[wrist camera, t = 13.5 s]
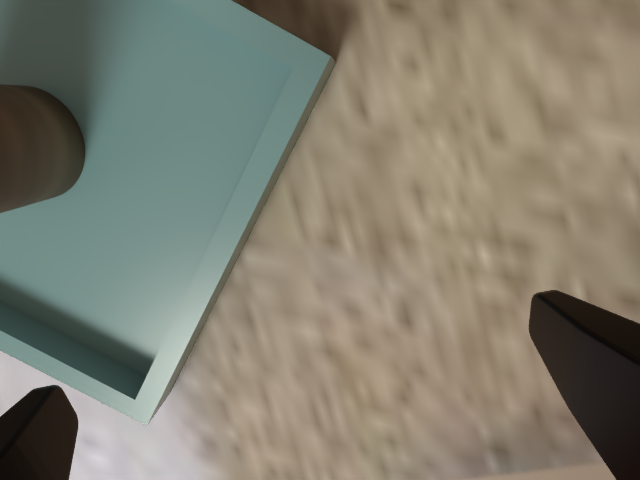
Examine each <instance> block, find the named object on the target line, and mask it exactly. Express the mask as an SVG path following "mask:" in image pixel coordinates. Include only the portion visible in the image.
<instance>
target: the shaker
mask: <svg viewBox="0 0 640 480" xmlns="http://www.w3.org/2000/svg"><path fill="white" fill-rule="evenodd" d="M84 162H85V144H84V139H83V135H82V132H81V129H80V127H79V125H78V123H77V121H76V119H75V117H74V116H73V114H72V113H71V112H70V110H69V109H68V108H67V107H66V106H65V105H64V104H63V103H62V102H61V101H60V100H59V99H57V98H56V97H55V96H53V95H52V94H50V93H48V92H46V91H44V90H42V89H39V88H36V87H31V86H21V85H3V84H0V213H3V212H6V211H10V210H13V209H17V208H20V207H23V206H27V205H30V204H34V203H37V202H40V201H44V200H47V199H51V198H54V197H57V196H60V195H62V194H64V193H65V192H67V191H68V190H69V189H71V188H72V187H73V186H74V184H75V183H76V182H77V180H78V179H79V177H80V175H81V173H82V170H83V167H84Z"/></svg>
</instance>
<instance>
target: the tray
mask: <svg viewBox="0 0 640 480" xmlns="http://www.w3.org/2000/svg"><path fill="white" fill-rule="evenodd" d="M335 64H336V62H335V60H334V59H333V58H332V57H331V56H330V55H328V54H326V53H324V52H323V51H321V50H319V49H317V48H315V47H314V46H312V45H310V44H308V43H307V42H305V41H303V40H301V39H299V38H298V37H296V36H294V35H292V34H291V33H289V32H287V31H285V30H283V29H282V28H280V27H278V26H276V25H274V24H273V23H271V22H269V21H267V20H266V19H264V18H262V17H260V16H258V15H257V14H255V13H253V12H251V11H250V10H248V9H246V8H244V7H242V6H241V5H239V4H237V3H235V2H234V1H232V0H0V84H3V85H21V86H31V87H36V88H39V89H42V90H44V91H46V92H48V93H50V94H52V95H53V96H55V97H56V98H57V99H59V100H60V101H61V102H62V103H63V104H64V105H65V106H66V107H67V108H68V109H69V110H70V112H71V113H72V114H73V116H74V117H75V119H76V121H77V123H78V125H79V127H80V129H81V132H82V135H83V139H84V144H85V162H84V167H83V170H82V173H81V175H80V177H79V179H78V180H77V182H76V183H75V184H74V186H73V187H72V188H71V189H69V190H68V191H67V192H65V193H64V194H62V195H60V196H57V197H54V198H51V199H47V200H44V201H40V202H37V203H34V204H30V205H27V206H23V207H20V208H17V209H13V210H10V211H6V212H3V213H0V351H2V352H4V353H6V354H8V355H10V356H12V357H14V358H16V359H18V360H20V361H22V362H24V363H26V364H28V365H30V366H32V367H33V368H35V369H37V370H39V371H41V372H43V373H45V374H47V375H49V376H51V377H53V378H55V379H57V380H59V381H61V382H63V383H65V384H67V385H69V386H70V387H72V388H74V389H76V390H78V391H80V392H82V393H84V394H86V395H88V396H90V397H92V398H94V399H96V400H98V401H100V402H102V403H104V404H105V405H107V406H109V407H111V408H113V409H115V410H117V411H119V412H121V413H123V414H125V415H127V416H129V417H131V418H133V419H135V420H137V421H139V422H140V423H142V424H144V425H146V426H147V425H148V424H149V422H150V421H151V419H152V418H153V416H154V415H155V414H156V412H157V411H158V409H159V408H160V406H161V405H162V404H163V402H164V401H165V399H166V398H167V396H168V395H169V394H170V392H171V390H172V388H173V386H174V384H175V382H176V380H177V378H178V376H179V374H180V372H181V370H182V368H183V366H184V364H185V362H186V360H187V358H188V356H189V354H190V352H191V350H192V348H193V346H194V344H195V342H196V340H197V338H198V336H199V334H200V332H201V330H202V328H203V326H204V324H205V322H206V320H207V318H208V316H209V314H210V312H211V310H212V308H213V306H214V304H215V302H216V300H217V298H218V296H219V294H220V292H221V290H222V288H223V286H224V284H225V282H226V280H227V278H228V276H229V274H230V272H231V270H232V268H233V266H234V264H235V262H236V260H237V258H238V256H239V254H240V252H241V250H242V248H243V246H244V244H245V242H246V240H247V238H248V236H249V234H250V233H251V231H252V229H253V227H254V225H255V223H256V221H257V219H258V217H259V215H260V213H261V211H262V209H263V207H264V205H265V203H266V201H267V199H268V197H269V195H270V193H271V191H272V189H273V187H274V185H275V183H276V181H277V179H278V177H279V175H280V173H281V171H282V169H283V167H284V165H285V163H286V161H287V159H288V157H289V155H290V153H291V151H292V149H293V147H294V145H295V143H296V141H297V139H298V137H299V135H300V133H301V131H302V129H303V127H304V125H305V123H306V121H307V119H308V117H309V115H310V113H311V111H312V109H313V107H314V105H315V103H316V101H317V99H318V97H319V95H320V93H321V91H322V89H323V87H324V85H325V83H326V81H327V79H328V77H329V75H330V73H331V71H332V70H333V68H334V66H335Z"/></svg>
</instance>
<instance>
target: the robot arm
mask: <svg viewBox="0 0 640 480" xmlns="http://www.w3.org/2000/svg"><path fill="white" fill-rule="evenodd" d="M529 333H530V336H531V339H532V341H533V343H534V345H535V346H536V348H537V350H538V352H539V354H540V356H541V358H542V360H543V362H544V363H545V365H546V367H547V369H548V371H549V373H550V375H551V377H552V379H553V380H554V382H555V384H556V386H557V388H558V390H559V392H560V394H561V396H562V397H563V399H564V401H565V403H566V404H567V406H568V408H569V410H570V411H571V413H572V414H573V416H574V417H575V419H576V420H577V422H578V423H579V425H580V426H581V428H582V429H583V431H584V432H585V434H586V435H587V437H588V438H589V440H590V441H591V443H592V444H593V446H594V447H595V449H596V450H597V452H598V453H599V455H600V456H601V457H602V459H603V460H604V462H605V463H606V465H607V466H608V468H609V469H610V471H611V472H612V474H613V475H614V477H615V478H616V480H640V324H639V323H637V322H634V321H632V320H629V319H627V318H624V317H622V316H619V315H617V314H614V313H612V312H610V311H607V310H605V309H602V308H600V307H597V306H595V305H592V304H590V303H587V302H585V301H582V300H580V299H577V298H575V297H573V296H570V295H568V294H565V293H563V292H560V291H557V290H550V291H544V292H539V293H536V294H534V295H533V297H532V301H531V310H530V319H529ZM77 432H78V418H77V414H76V412H75V411H74V409H73V407H72V405H71V403H70V402H69V400H68V398H67V396H66V395H65V393H64V391H63V390H62V388H61V387H59V386H58V385H51V386H46V387H40V388H36V389H34V390H32V391H30V392H29V393H28V394H27V395H26V396H24V397H23V398H22V399H21V400H20V401H18V402H17V403H16V404H15V405H14V406H13V407H11V408H10V409H9V410H8V411H7V412H5V413H4V414H3V415H2V416H1V417H0V480H69V475H70V470H71V464H72V459H73V453H74V448H75V442H76V437H77Z"/></svg>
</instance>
